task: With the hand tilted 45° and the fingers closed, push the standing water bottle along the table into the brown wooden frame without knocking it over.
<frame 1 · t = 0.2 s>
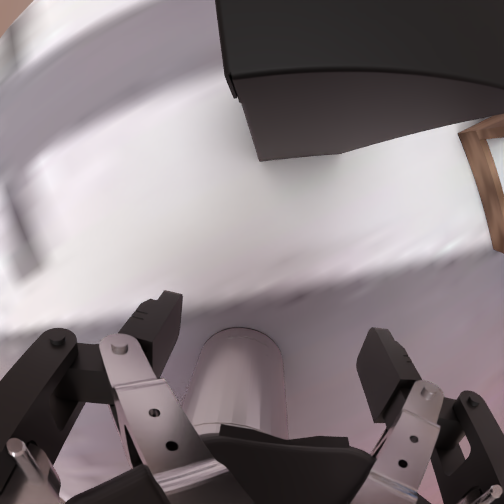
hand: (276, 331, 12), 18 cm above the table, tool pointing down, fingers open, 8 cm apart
black square pillar: (294, 118, 27), on the table
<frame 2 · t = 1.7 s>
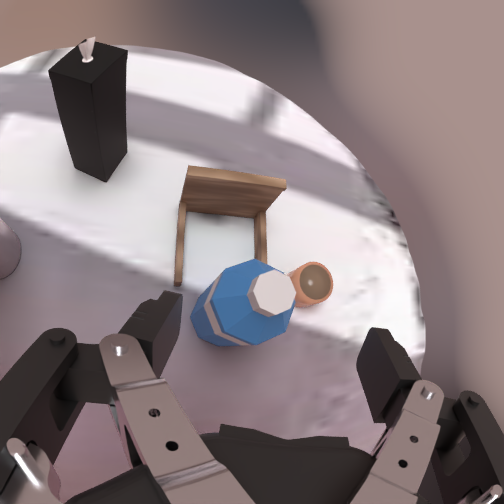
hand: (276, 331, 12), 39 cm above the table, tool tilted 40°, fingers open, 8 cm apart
black square pillar: (100, 160, 52), on the table
water bottle: (218, 318, 51), on the table
brown wooden frame: (219, 248, 54), on the table
clay pot: (299, 288, 57), on the table
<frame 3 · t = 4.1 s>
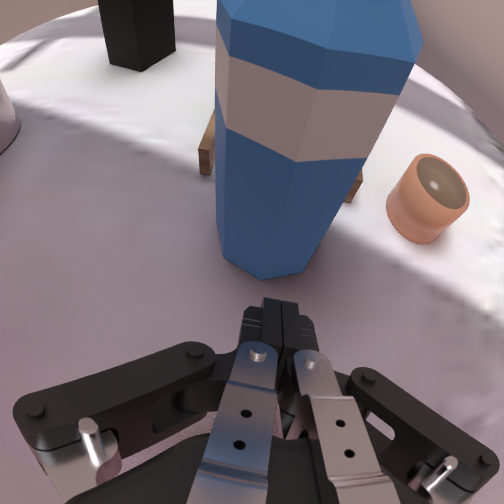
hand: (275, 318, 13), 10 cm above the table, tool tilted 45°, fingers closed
black square pillar: (142, 58, 39), on the table
water bottle: (268, 232, 27), on the table
brown wooden frame: (283, 138, 32), on the table
clay pot: (413, 215, 30), on the table
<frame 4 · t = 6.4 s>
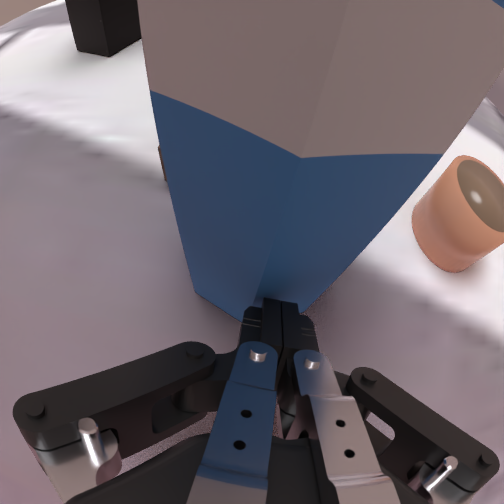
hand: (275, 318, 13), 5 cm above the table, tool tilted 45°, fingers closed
black square pillar: (114, 42, 31), on the table
water bottle: (258, 254, 20), on the table, touching gripper
clay pot: (444, 233, 22), on the table
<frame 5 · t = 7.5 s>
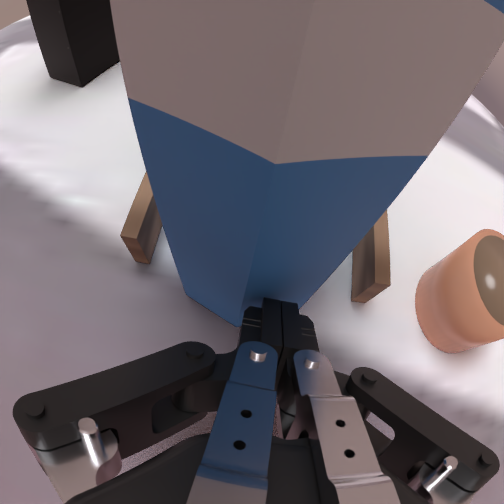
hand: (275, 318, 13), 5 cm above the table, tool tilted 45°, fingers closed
black square pillar: (89, 66, 29), on the table
water bottle: (248, 256, 20), on the table, touching gripper
brown wooden frame: (266, 191, 22), on the table
clay pot: (450, 307, 20), on the table
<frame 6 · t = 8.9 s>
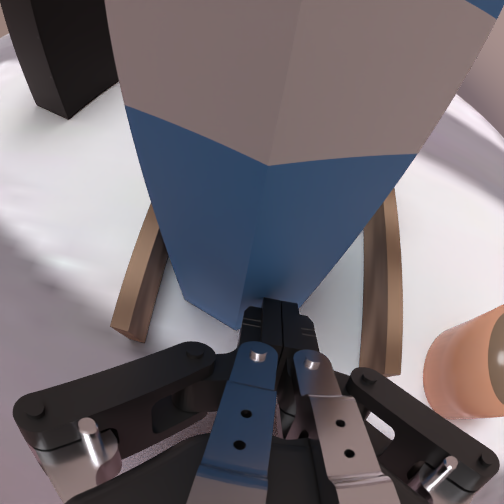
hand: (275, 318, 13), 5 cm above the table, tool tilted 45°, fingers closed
black square pillar: (77, 93, 27), on the table
water bottle: (245, 259, 20), on the table, touching gripper
brown wooden frame: (270, 257, 20), on the table
clay pot: (457, 373, 18), on the table
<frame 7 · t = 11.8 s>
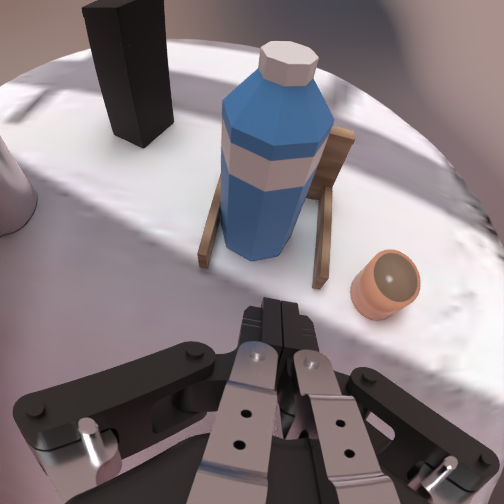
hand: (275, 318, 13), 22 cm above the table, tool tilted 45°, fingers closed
black square pillar: (143, 129, 48), on the table
water bottle: (255, 229, 41), on the table
brown wooden frame: (268, 229, 41), on the table
clay pot: (374, 294, 38), on the table
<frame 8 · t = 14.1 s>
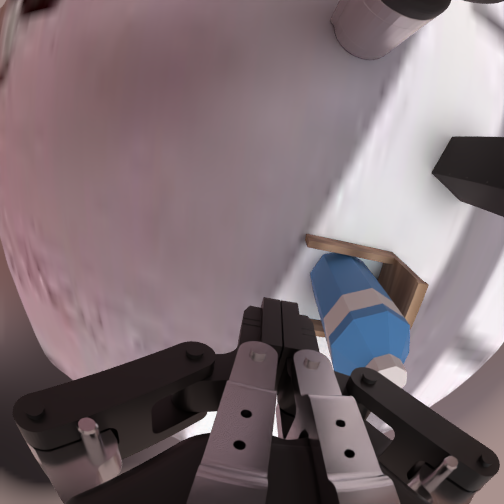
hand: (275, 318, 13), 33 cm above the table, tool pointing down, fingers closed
black square pillar: (456, 168, 41), on the table
water bottle: (338, 277, 48), on the table
brown wooden frame: (337, 287, 48), on the table
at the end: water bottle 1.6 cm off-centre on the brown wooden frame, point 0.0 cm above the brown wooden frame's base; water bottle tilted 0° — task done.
